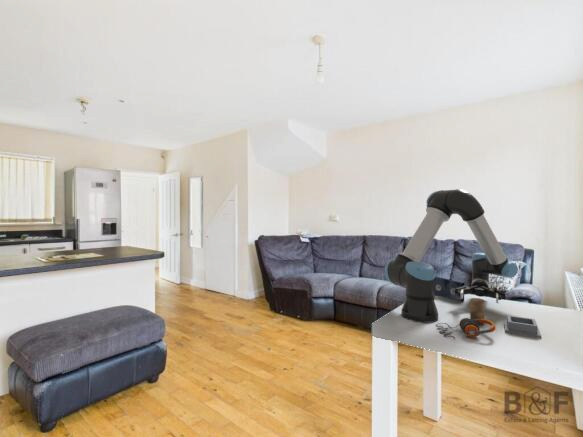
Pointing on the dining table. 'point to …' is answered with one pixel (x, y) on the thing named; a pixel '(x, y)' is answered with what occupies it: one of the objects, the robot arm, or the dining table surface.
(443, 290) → the vhs cassette tape
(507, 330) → the grey square tray
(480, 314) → the walnut cylinder
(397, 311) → the dining table surface
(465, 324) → the headphones
